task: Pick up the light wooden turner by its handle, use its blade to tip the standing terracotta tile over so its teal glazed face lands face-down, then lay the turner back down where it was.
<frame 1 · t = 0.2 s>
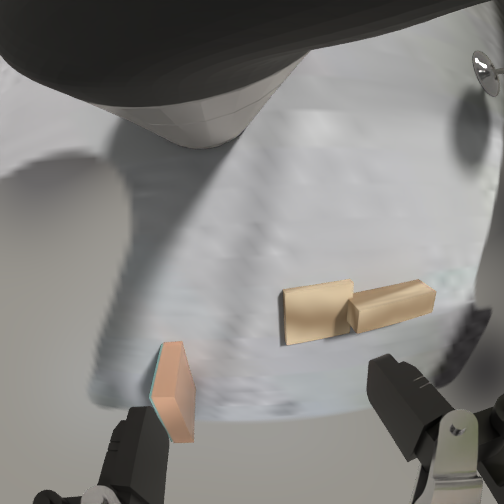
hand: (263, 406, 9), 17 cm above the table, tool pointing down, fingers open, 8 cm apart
turner: (352, 303, 28), on the table
wine glass: (486, 73, 21), on the table
tile: (177, 392, 24), point 4 cm above the table
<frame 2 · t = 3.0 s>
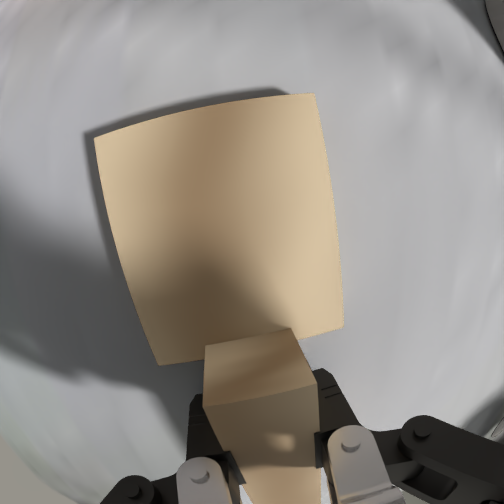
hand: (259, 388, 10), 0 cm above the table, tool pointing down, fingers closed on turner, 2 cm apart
turner: (250, 345, 9), on the table, touching gripper
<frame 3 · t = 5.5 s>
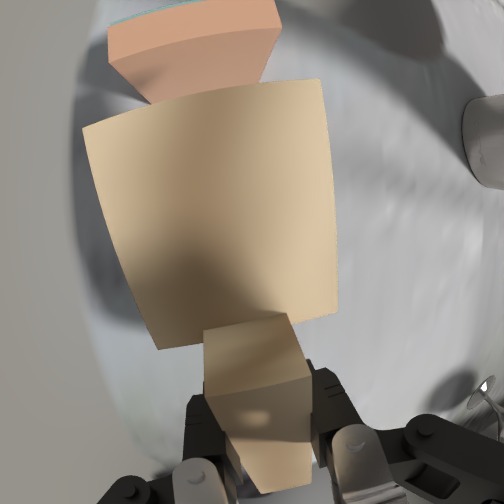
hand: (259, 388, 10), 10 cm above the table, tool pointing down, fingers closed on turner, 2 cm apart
turner: (246, 326, 10), point 9 cm above the table, tilted 9°, touching gripper
wine glass: (481, 392, 30), on the table
tile: (197, 56, 12), point 4 cm above the table
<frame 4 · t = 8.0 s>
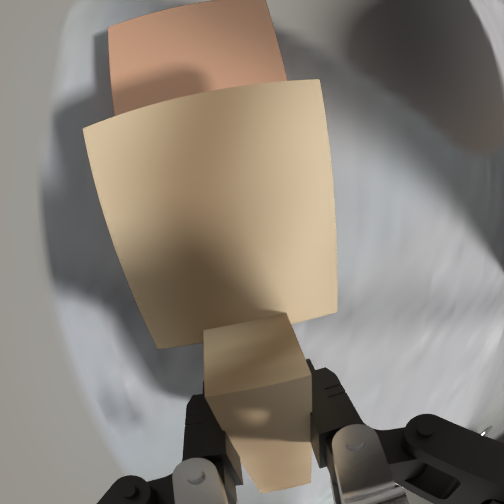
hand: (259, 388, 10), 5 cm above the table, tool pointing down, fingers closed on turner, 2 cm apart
turner: (246, 326, 10), point 4 cm above the table, tilted 9°, touching gripper
tile: (198, 84, 10), point 1 cm above the table, tilted 90°
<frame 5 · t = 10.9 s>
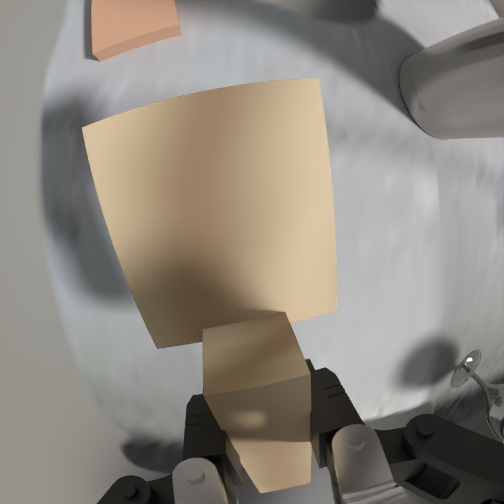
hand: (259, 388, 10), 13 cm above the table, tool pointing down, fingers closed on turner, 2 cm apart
turner: (245, 325, 10), point 12 cm above the table, tilted 9°, touching gripper
wine glass: (466, 368, 31), on the table
tile: (133, 9, 15), point 1 cm above the table, tilted 90°
when the fingers open (2 cm above the table, at t = 13.5 s): turner drops 1 cm, on the table.
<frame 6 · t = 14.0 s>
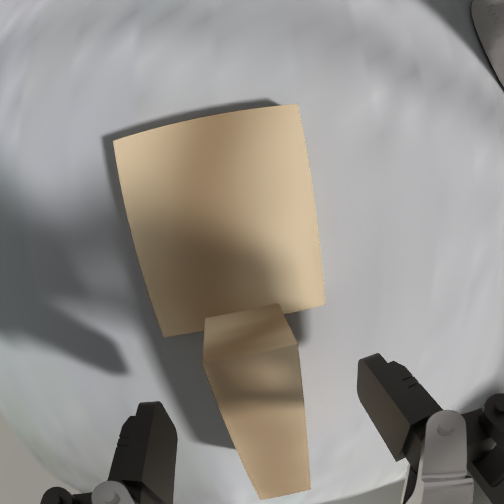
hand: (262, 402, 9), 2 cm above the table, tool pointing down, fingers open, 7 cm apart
turner: (244, 321, 11), on the table
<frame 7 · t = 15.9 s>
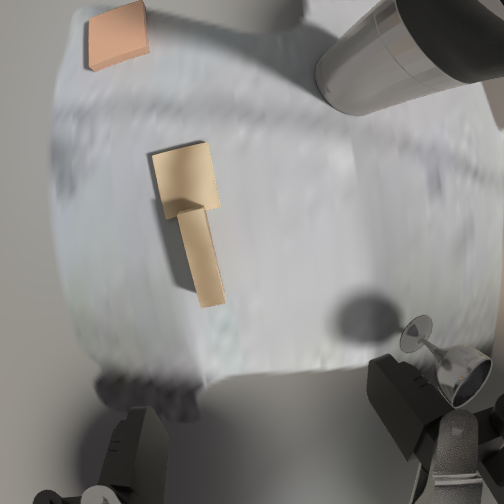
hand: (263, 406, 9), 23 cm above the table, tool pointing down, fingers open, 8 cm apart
turner: (194, 216, 30), on the table
wine glass: (416, 334, 39), on the table
tile: (117, 34, 22), point 1 cm above the table, tilted 90°
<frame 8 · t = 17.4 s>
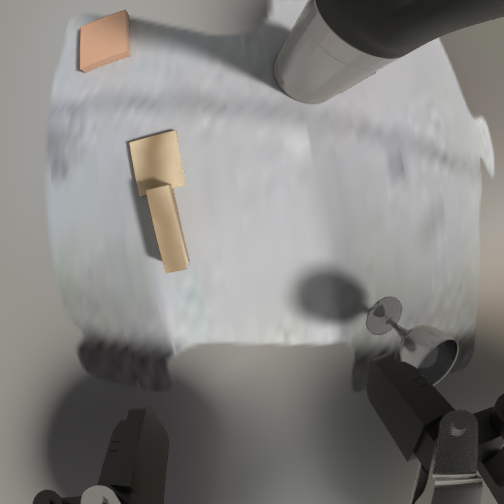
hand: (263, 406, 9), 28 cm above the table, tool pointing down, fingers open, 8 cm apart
turner: (164, 194, 33), on the table
wine glass: (384, 315, 42), on the table
tile: (104, 40, 26), point 1 cm above the table, tilted 90°
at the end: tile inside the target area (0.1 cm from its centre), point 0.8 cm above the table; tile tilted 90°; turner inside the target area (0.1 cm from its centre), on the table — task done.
